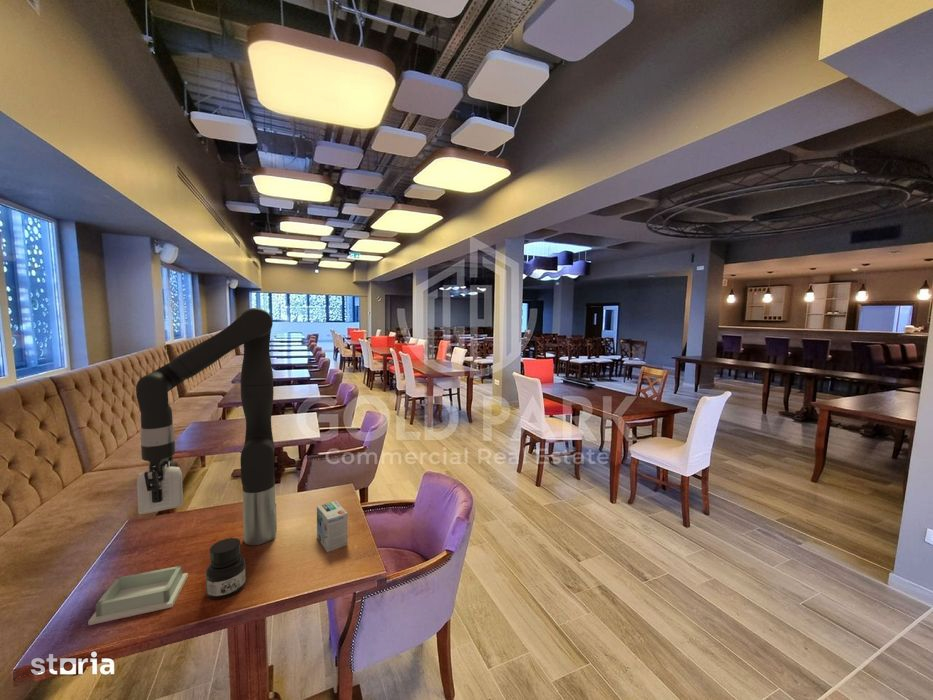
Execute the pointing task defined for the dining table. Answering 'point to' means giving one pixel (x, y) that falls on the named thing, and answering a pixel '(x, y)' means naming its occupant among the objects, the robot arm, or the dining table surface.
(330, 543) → the light bulb box
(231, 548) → the ink bottle
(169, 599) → the printer dock
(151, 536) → the dining table surface
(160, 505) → the photo printer
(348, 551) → the dining table surface
